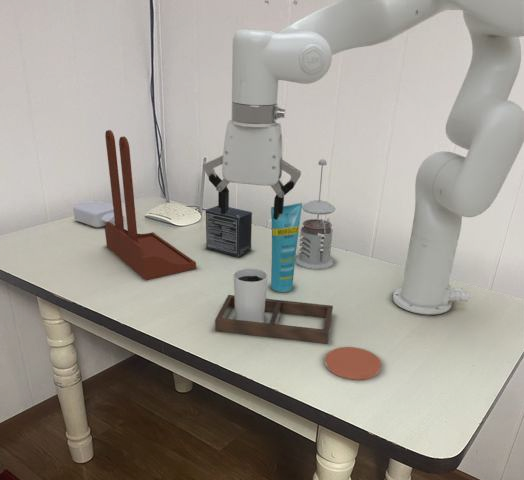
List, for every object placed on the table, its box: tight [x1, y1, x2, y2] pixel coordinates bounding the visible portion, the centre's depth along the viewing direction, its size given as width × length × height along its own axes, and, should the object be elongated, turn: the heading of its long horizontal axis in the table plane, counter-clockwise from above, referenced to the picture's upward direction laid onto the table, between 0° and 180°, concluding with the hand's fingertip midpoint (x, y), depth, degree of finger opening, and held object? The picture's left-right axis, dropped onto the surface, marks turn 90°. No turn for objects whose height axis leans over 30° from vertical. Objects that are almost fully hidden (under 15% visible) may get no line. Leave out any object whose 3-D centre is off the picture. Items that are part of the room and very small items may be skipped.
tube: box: [270, 202, 303, 293], centre depth 123 cm, size 7×5×19 cm, turn 123°
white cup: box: [233, 267, 269, 323], centre depth 112 cm, size 7×7×10 cm
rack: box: [214, 294, 334, 344], centre depth 113 cm, size 22×12×2 cm, turn 80°
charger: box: [73, 199, 125, 229], centre depth 160 cm, size 5×9×15 cm
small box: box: [205, 205, 253, 258], centre depth 145 cm, size 11×6×10 cm, turn 58°
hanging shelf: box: [104, 129, 197, 281], centre depth 133 cm, size 24×13×30 cm, turn 34°
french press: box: [295, 158, 336, 270], centre depth 135 cm, size 10×12×25 cm
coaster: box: [324, 346, 382, 381], centre depth 101 cm, size 10×10×1 cm
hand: (250, 214), depth 103 cm, fingers open, 9 cm apart
